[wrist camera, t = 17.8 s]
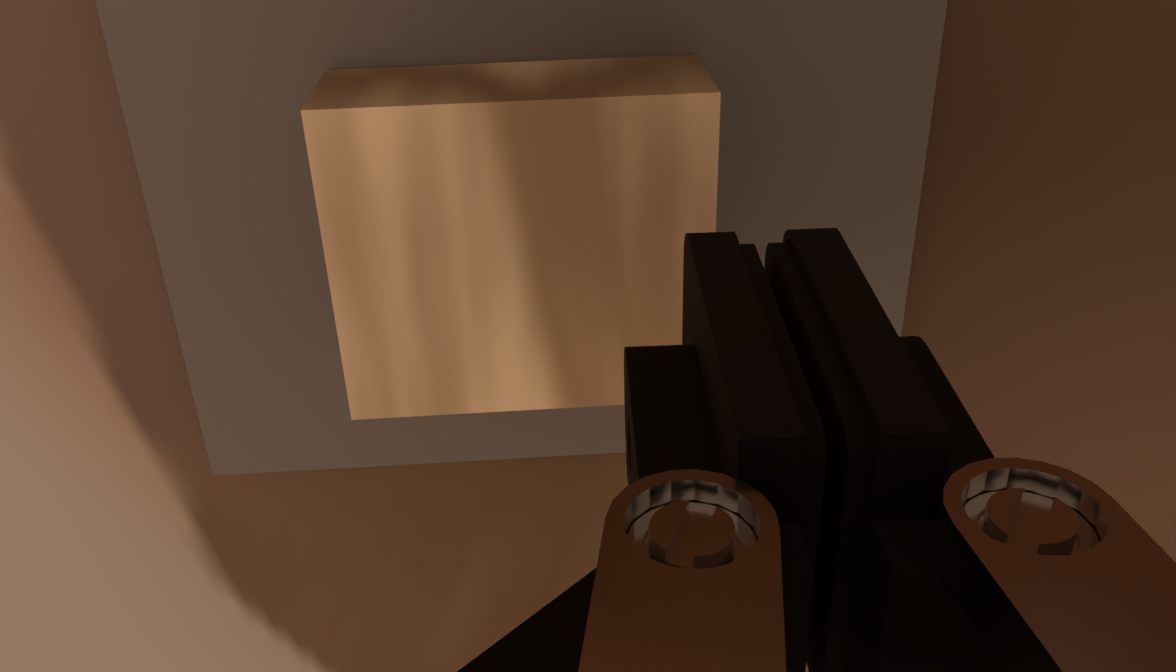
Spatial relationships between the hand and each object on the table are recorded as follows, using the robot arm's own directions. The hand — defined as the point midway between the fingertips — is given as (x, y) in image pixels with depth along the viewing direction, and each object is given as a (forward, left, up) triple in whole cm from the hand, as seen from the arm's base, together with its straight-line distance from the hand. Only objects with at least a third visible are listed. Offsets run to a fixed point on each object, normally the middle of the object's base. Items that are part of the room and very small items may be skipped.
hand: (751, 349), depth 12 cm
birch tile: (-1, +3, -11) cm, 11 cm away
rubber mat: (+2, +3, -13) cm, 14 cm away
